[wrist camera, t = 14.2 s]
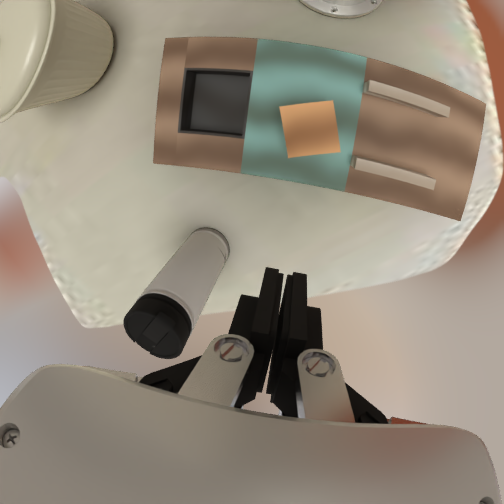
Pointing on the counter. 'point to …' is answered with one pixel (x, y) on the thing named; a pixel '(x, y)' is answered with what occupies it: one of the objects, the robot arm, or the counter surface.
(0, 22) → the canister
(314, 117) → the block
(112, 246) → the counter surface
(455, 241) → the counter surface
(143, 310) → the travel mug
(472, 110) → the board
